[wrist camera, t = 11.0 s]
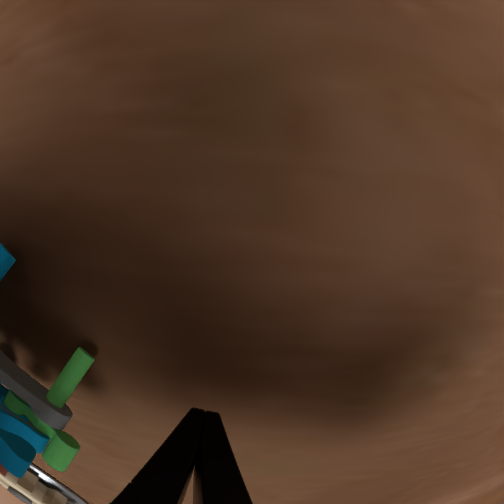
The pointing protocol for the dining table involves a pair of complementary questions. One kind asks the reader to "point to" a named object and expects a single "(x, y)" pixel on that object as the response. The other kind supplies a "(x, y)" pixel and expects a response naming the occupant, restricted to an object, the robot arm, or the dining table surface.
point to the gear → (36, 409)
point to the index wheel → (30, 489)
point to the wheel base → (55, 485)
